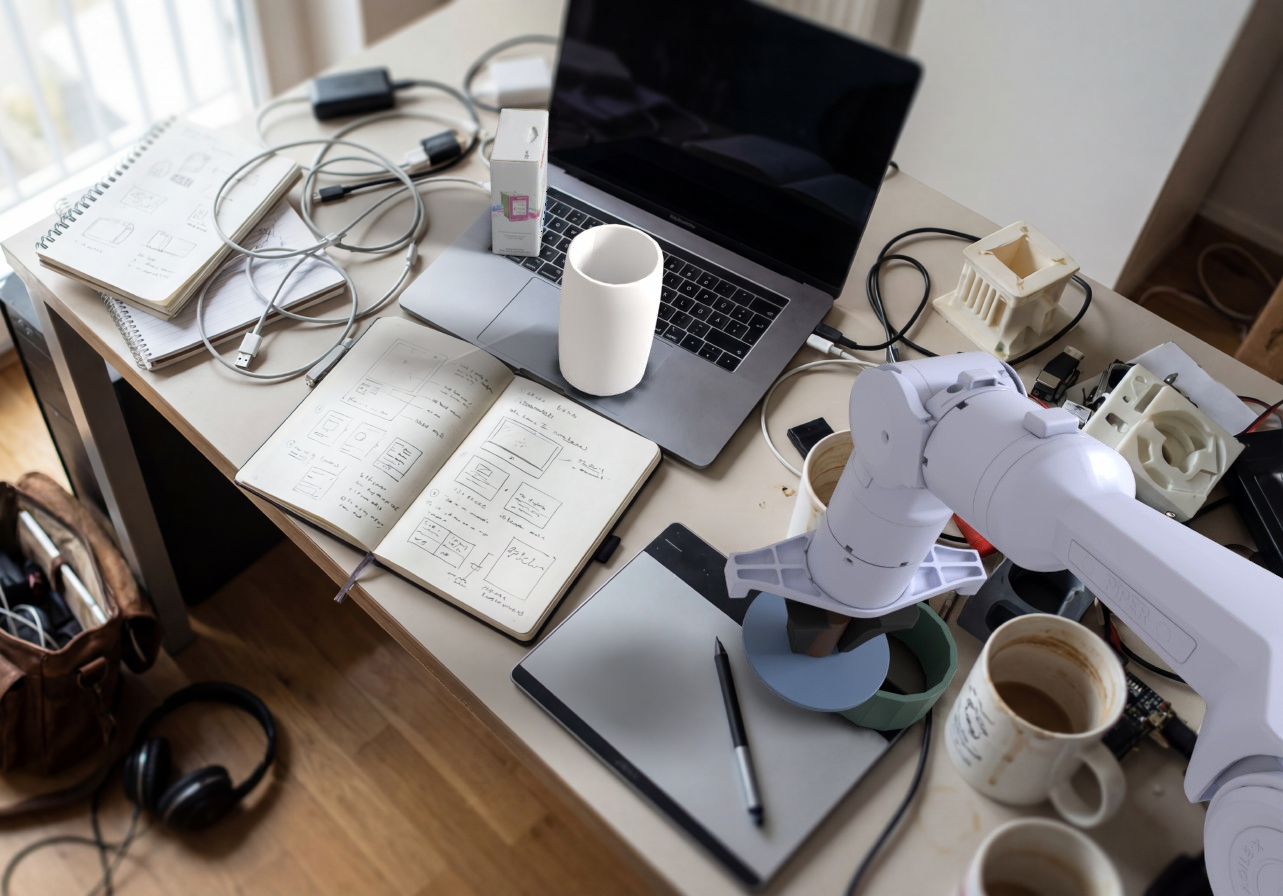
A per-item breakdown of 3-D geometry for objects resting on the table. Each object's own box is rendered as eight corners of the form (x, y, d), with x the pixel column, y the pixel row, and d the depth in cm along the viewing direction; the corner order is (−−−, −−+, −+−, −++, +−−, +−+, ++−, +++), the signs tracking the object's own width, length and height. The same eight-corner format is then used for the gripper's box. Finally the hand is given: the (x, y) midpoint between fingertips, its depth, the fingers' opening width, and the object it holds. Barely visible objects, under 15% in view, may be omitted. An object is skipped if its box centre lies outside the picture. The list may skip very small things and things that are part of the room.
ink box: (500, 201, 109) (500, 104, 99) (547, 205, 108) (551, 107, 99) (489, 254, 103) (489, 157, 94) (538, 258, 103) (542, 161, 94)
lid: (915, 671, 66) (945, 631, 62) (805, 742, 63) (828, 705, 59) (817, 565, 71) (838, 520, 67) (710, 626, 68) (725, 584, 64)
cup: (581, 419, 90) (593, 303, 79) (539, 356, 95) (544, 238, 83) (664, 389, 92) (687, 271, 81) (619, 328, 97) (635, 209, 85)
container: (956, 696, 73) (984, 663, 69) (867, 754, 71) (891, 724, 67) (872, 605, 78) (894, 569, 74) (785, 657, 75) (803, 623, 71)
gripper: (989, 463, 58) (912, 584, 68) (735, 466, 58) (697, 586, 69) (1032, 569, 53) (942, 681, 64) (756, 573, 53) (713, 683, 64)
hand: (817, 639), depth 66 cm, fingers closed on lid, 2 cm apart
